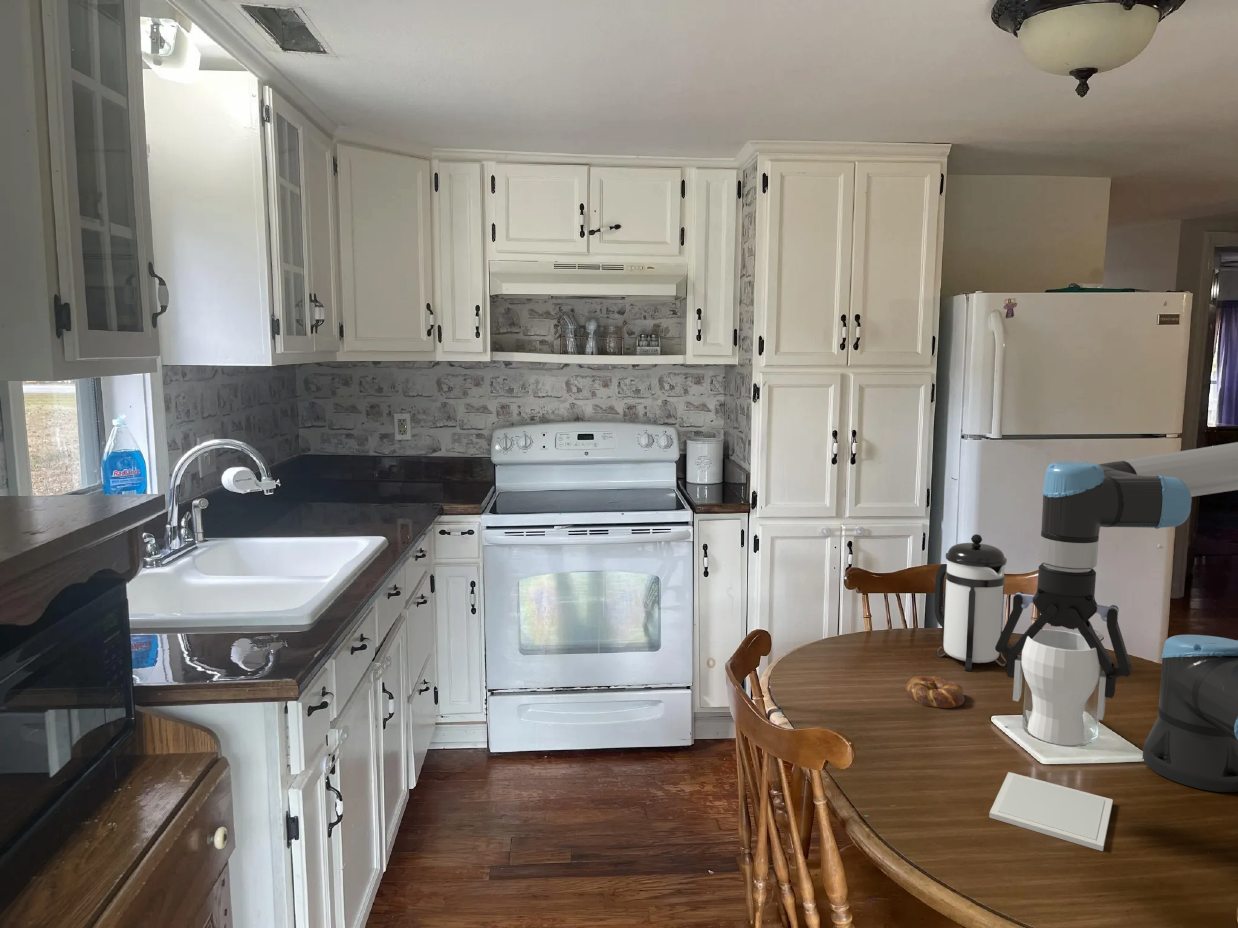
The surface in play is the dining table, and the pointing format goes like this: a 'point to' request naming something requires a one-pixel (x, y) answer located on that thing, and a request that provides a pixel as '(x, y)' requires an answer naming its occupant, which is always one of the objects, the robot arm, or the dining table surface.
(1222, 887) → the dining table surface
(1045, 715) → the cup
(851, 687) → the dining table surface
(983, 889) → the dining table surface
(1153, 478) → the robot arm
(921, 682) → the brown braided bread ring
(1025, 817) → the coaster
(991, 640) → the coffee press
